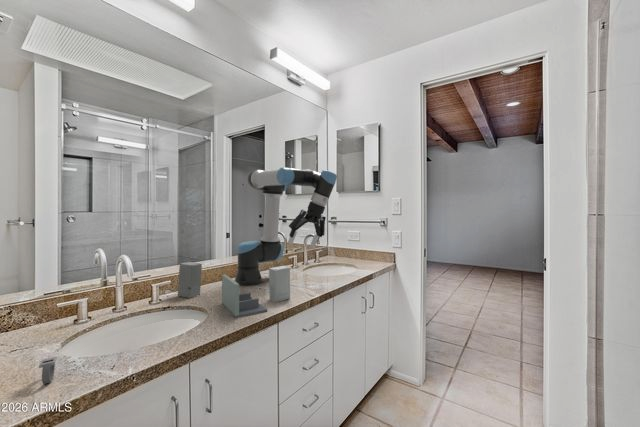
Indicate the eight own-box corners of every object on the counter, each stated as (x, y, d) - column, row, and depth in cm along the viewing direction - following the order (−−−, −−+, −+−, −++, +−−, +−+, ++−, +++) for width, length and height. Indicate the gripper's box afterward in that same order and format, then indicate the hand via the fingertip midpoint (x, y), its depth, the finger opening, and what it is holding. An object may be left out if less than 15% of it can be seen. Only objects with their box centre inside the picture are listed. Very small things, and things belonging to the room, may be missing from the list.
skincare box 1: (177, 296, 134) (177, 263, 134) (189, 292, 141) (189, 261, 141) (190, 298, 131) (190, 264, 131) (202, 294, 138) (202, 262, 138)
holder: (222, 303, 124) (222, 274, 124) (250, 298, 131) (250, 271, 131) (235, 318, 107) (235, 284, 107) (267, 311, 114) (267, 279, 114)
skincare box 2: (284, 296, 135) (283, 265, 135) (290, 299, 131) (290, 267, 131) (268, 299, 130) (268, 267, 130) (275, 302, 125) (274, 269, 125)
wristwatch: (43, 377, 69) (43, 356, 69) (58, 373, 71) (58, 353, 71) (37, 390, 64) (36, 368, 64) (53, 385, 66) (53, 364, 65)
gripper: (301, 199, 118) (283, 245, 120) (341, 211, 134) (324, 252, 137) (292, 194, 123) (275, 238, 126) (331, 207, 140) (315, 245, 142)
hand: (301, 245), depth 131 cm, fingers open, 13 cm apart
